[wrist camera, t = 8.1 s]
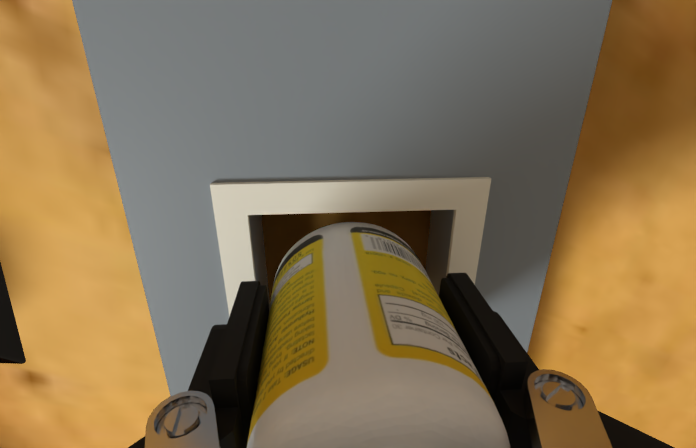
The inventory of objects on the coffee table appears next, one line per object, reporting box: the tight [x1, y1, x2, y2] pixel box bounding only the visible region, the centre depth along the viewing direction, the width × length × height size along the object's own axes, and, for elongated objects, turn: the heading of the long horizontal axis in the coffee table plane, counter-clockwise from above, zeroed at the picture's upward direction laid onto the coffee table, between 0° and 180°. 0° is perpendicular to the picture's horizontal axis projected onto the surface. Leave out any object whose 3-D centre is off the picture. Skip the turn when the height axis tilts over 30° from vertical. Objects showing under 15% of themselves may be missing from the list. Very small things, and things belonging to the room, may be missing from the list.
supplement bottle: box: [247, 222, 510, 448], centre depth 9 cm, size 5×5×10 cm
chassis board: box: [72, 0, 612, 396], centre depth 14 cm, size 20×14×3 cm
